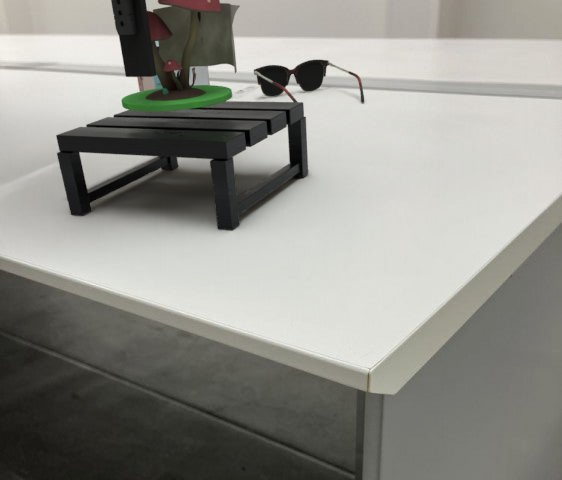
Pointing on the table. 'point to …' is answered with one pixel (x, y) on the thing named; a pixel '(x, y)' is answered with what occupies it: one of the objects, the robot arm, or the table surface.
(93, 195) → the rack
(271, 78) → the sunglasses
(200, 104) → the mushroom figurine
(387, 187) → the table surface
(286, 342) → the table surface
